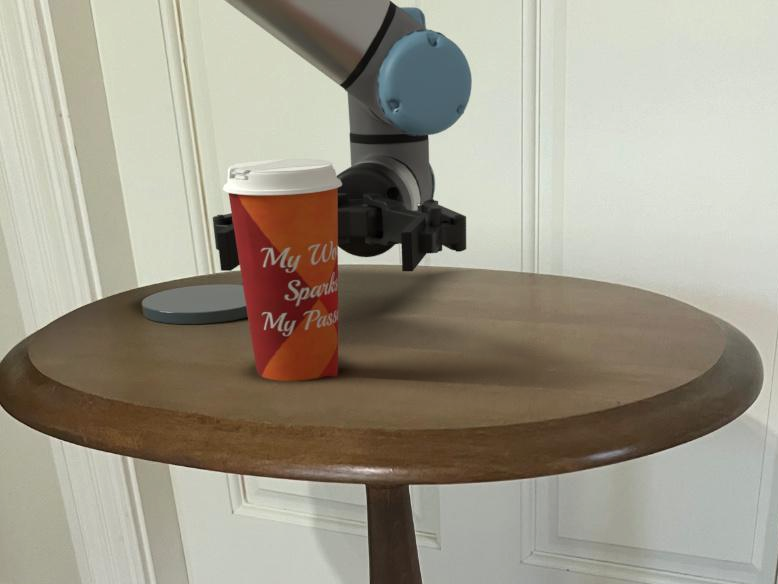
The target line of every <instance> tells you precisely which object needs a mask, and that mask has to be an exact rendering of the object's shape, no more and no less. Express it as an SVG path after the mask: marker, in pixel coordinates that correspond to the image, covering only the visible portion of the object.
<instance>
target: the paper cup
mask: <svg viewBox="0 0 778 584" xmlns="http://www.w3.org/2000/svg"><path fill="white" fill-rule="evenodd" d="M340 186H342V183H341V180H340V179H338V178H337V172H336V169H335V168H334V166H333V163H332V161H330V160H324V159H313V158H311V159H310V158H285V159H284V158H283V159H282V158H281V159H266V160H255V161H246V162H240V163H235V164H232V165H230V166H228V169H227V182H226V183H225V184H223V187H222V191H223V192H225V193H227V194H228V198H229V204H230V205H229V206H230V211H231V213H232V219H233V225H234V231H235V238H236V244H237V251H238V257H239V264H240V265H239V270H240V277H241V281H242V283H241V284H242V285H243V289H244V295H245V302H246V308H247V314H248V317H247V320H248V326H249V332H250V338H251V344H252V345H251V346H252V350H253V351H252V352H253V357H254V362H255V367H256V373H257V374H258V375H259V376H260V377H262V378H264V379H267V380H272V381H281V382H282V381H283V382H284V381H285V382H294V381H296V382H297V381H298V382H299V381H308V380H314V379H315V380H316V379H320V378H324V377H338V372H339V371H338V370H339V247H338V195H337V188H338V187H340Z"/></svg>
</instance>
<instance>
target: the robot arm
mask: <svg viewBox="0 0 778 584" xmlns="http://www.w3.org/2000/svg"><path fill="white" fill-rule="evenodd" d="M224 1H225V2H226V3H227V4H228V5H230V6H231V7H233V8H234V9H236V10H237V11H238V12H239V13H241V14H242V15H243V16H245V17H247V18H248V19H249V20H250V21H252V22H253V23H254V24H255V25H257V26H259V28H261V29H262V30H263V31H265V32H267V33H268V34H270V35H271V36H272V37H273V38H275V39H276V40H277V41H279V42H280V43H282V44H283V45H284V46H285V47H287V48H288V49H289V50H291V51H292V52H293V53H295V54H296V55H298V56H299V57H300V58H302V59H303V60H305V61H306V62H307V63H308V64H310V65H311V66H313V67H314V68H315V69H317V70H318V71H319V72H321V73H323V75H325V76H326V77H328V78H329V79H330V80H331V81H333V82H334V83H335V84H337V85H338V86H340V87H341V88H343V89H344V91H345V92H346V93H347V109H348V119H349V120H348V121H349V149H350V152H349V153H350V166H349V167H348V168H346V169H344V170H343V171H340V173H338V174H336V176H337V178H338V179H340V180H341V183H342V186H340V187H338V188H337V195H338V249H339V248H340V249H341V250H342V251H344V252H345V253H347V254H349V255H352V256H355V257H358V258H373V257H378V256H380V255H383V254H384V253H386V252H389V250H391V249H392V248H393V247H394V246H396V245H401V271H402V272H414V270H415V269H416V268H417V267H418V265H419V264H420V263H421V262H422V260H423V259H424V258H425V256H426V255H427V254H437V253H439V252H442V251H443V246H444V247H445V248H447V249H449V250H451V251H455V252H456V253H457V252H458V253H459V252H463V251H465V250H467V216H466V215H464V214H462V213H460V212H457V211H455V210H453V209H451V208H447V207H445V206H443V205H441V204H439V200H435V198H434V197H435V191H436V177H435V172H434V170H433V167H432V164H431V163H430V143H429V142H430V141H429V139H430V138H429V136H431V135H432V136H433V135H437V134H440V133H442V132H444V131H446V130H448V129H450V128H451V127H452V126H454V124H456V123H457V122H458V121H459V119H461V117H462V116H463V115H464V113H465V111H466V109H467V107H468V104H469V102H470V98H471V94H472V85H473V82H472V81H473V79H472V72H471V68H470V64H469V62H468V60H467V59H468V58H467V57H466V56H465V53H464V52H463V50H462V49H461V47H460V46H459V45H458V44H457V43H455V42H454V41H453V40H452V39H450V38H448V37H447V36H446V35H444V33H442V32H439V31H436V30H433V29H428V28H427V24H426V16H425V14H424V12H423V10H422V9H420V8H418V7H415V6H411V7H409V6H408V7H407V6H406V7H405V6H404V7H403V6H402V7H401V6H398V5H397V4H396V3H394V2H393V1H392V0H224ZM212 225H213V226H212V227H213V235H214V243H215V250H217V251H218V256H219V266H220V271H222V272H223V271H224V272H225V271H226V272H227V271H228V272H230V271H234V269H236V268H237V267H240V264H239V257H238V251H237V244H236V238H235V231H234V225H233V219H232V212H231V213H226V214H217V215H214V216H213V217H212Z"/></svg>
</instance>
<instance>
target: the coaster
mask: <svg viewBox="0 0 778 584" xmlns="http://www.w3.org/2000/svg"><path fill="white" fill-rule="evenodd" d="M141 309H142V314H143V316H144V317H145V318H146V319H148V320H150V321H153V322H157V323H162V324H170V325H206V324H209V325H210V324H219V323H225V322H232V321H238V320H243V319H248V314H247V308H246V302H245V295H244V289H243V284H233V283H232V284H229V283H226V284H225V283H223V284H222V283H219V284H218V283H217V284H216V283H215V284H200V285H190V286H182V287H176V288H170V289H166V290H163V291H159V292H156V293H153V294H151V295H148V296H147V297H145V298H143V300H142V301H141Z"/></svg>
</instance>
